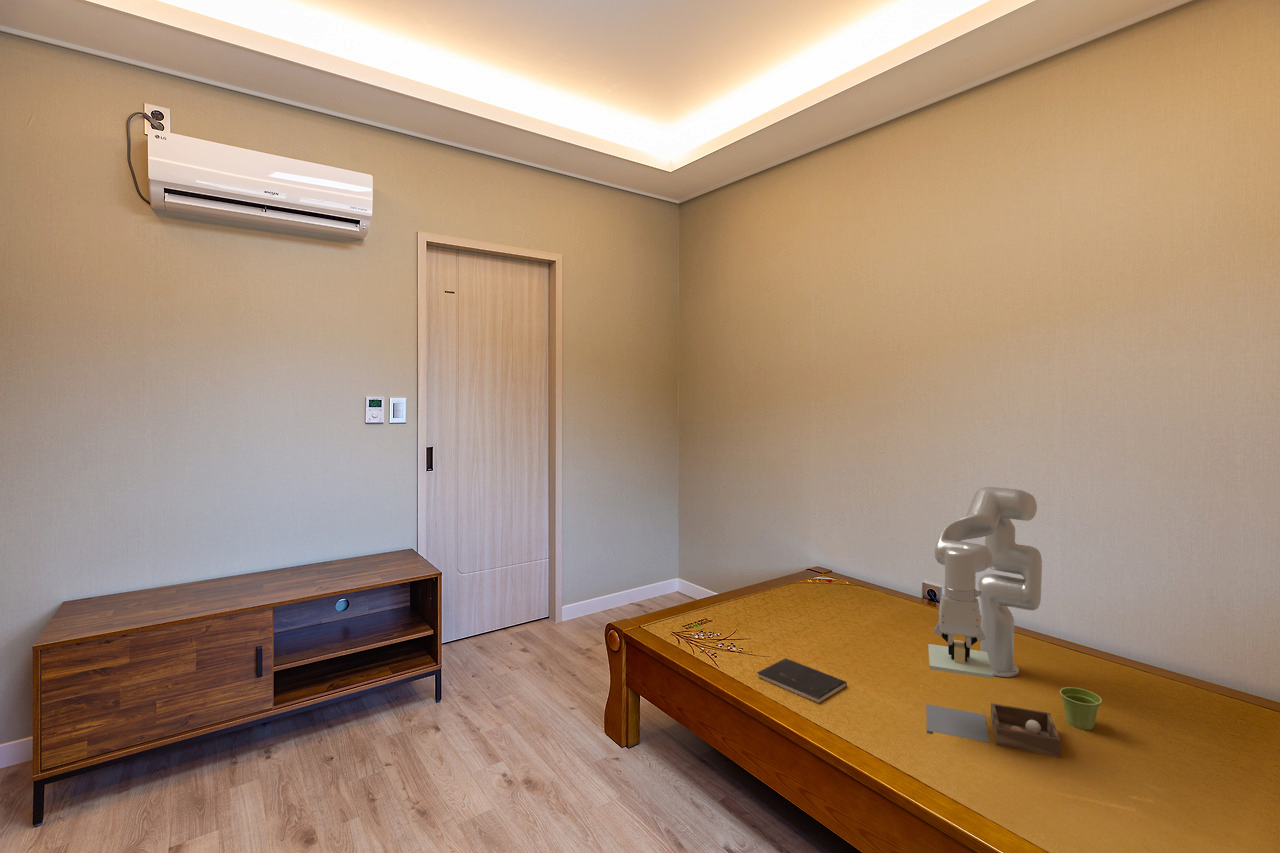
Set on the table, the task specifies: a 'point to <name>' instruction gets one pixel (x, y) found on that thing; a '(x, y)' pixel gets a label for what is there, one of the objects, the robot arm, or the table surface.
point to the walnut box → (1015, 716)
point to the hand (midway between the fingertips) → (958, 657)
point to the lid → (959, 660)
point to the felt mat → (956, 723)
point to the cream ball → (1033, 727)
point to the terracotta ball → (1016, 728)
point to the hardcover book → (802, 680)
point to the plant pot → (1080, 707)
